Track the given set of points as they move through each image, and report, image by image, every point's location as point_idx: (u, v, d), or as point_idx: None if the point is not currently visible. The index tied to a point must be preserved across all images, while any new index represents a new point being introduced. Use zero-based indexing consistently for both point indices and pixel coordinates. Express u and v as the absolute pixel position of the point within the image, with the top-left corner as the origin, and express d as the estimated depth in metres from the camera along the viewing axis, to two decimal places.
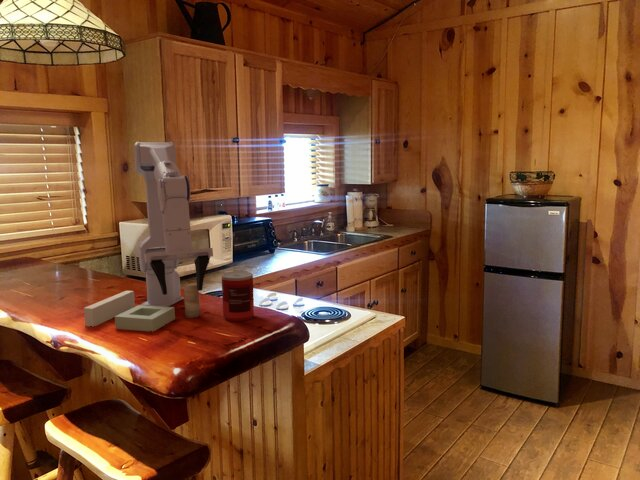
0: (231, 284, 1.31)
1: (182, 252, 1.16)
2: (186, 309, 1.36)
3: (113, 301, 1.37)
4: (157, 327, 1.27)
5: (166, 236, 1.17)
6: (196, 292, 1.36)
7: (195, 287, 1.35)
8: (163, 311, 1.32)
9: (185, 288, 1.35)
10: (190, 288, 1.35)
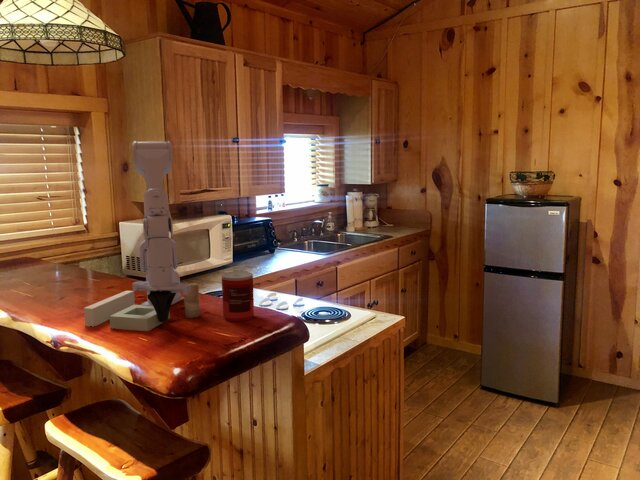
0: (231, 284, 1.31)
1: (152, 289, 1.25)
2: (186, 309, 1.36)
3: (113, 301, 1.37)
4: (152, 327, 1.28)
5: None
6: (196, 292, 1.36)
7: (195, 287, 1.35)
8: None
9: None
10: None
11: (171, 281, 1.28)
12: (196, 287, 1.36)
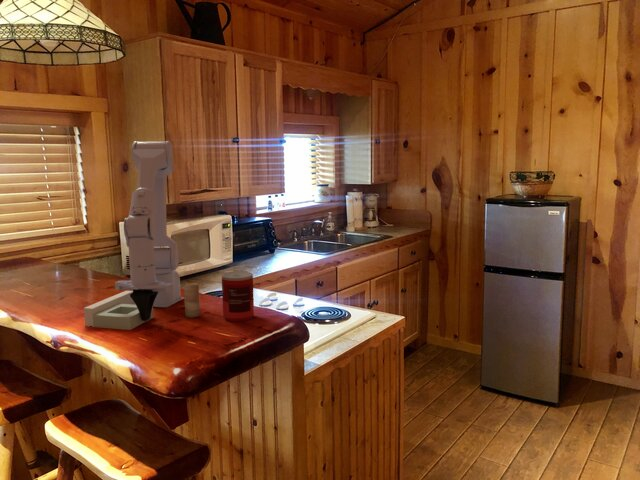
0: (231, 284, 1.31)
1: (133, 288, 1.26)
2: (186, 309, 1.36)
3: (113, 301, 1.37)
4: (134, 325, 1.29)
5: None
6: (196, 292, 1.36)
7: (195, 287, 1.36)
8: None
9: (185, 288, 1.35)
10: (190, 288, 1.35)
11: (153, 280, 1.29)
12: (196, 287, 1.36)
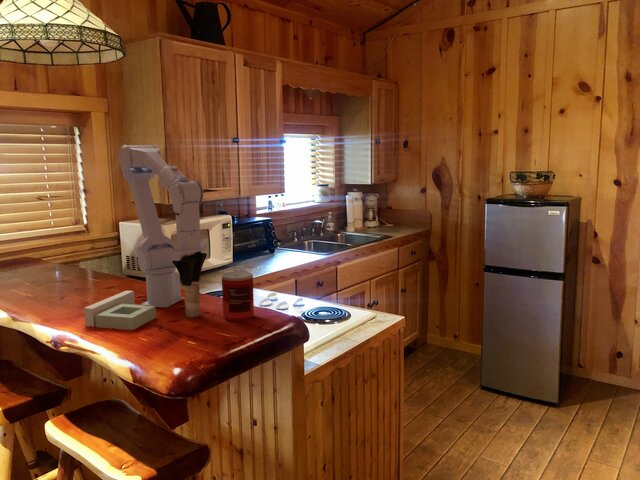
0: (231, 284, 1.31)
1: (203, 249, 1.34)
2: (187, 309, 1.36)
3: (113, 301, 1.37)
4: (137, 325, 1.29)
5: (187, 236, 1.32)
6: (197, 292, 1.36)
7: (196, 287, 1.35)
8: (144, 309, 1.33)
9: (186, 288, 1.35)
10: (191, 288, 1.35)
11: None
12: (197, 287, 1.36)
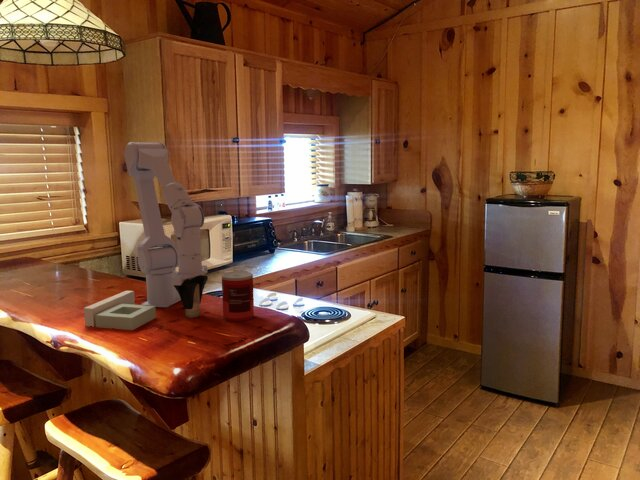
0: (231, 284, 1.31)
1: (205, 273, 1.35)
2: (187, 309, 1.36)
3: (113, 301, 1.37)
4: (137, 325, 1.29)
5: (188, 260, 1.33)
6: (197, 292, 1.36)
7: (196, 287, 1.35)
8: (144, 309, 1.33)
9: None
10: None
11: None
12: (197, 287, 1.36)
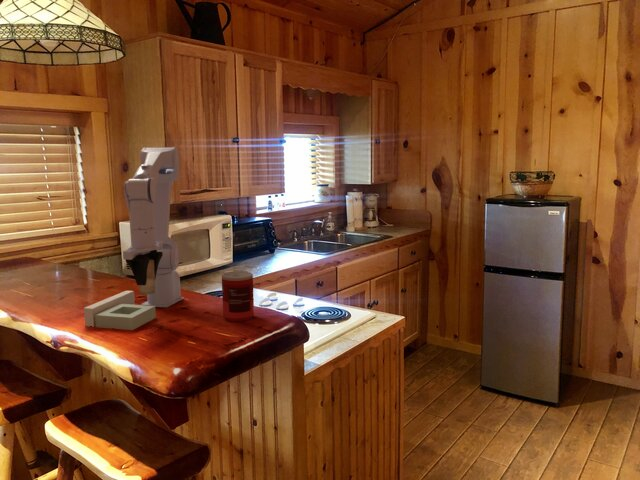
0: (231, 284, 1.31)
1: (158, 248, 1.31)
2: (141, 285, 1.32)
3: (113, 301, 1.37)
4: (137, 325, 1.29)
5: (141, 234, 1.28)
6: (152, 268, 1.32)
7: (151, 262, 1.31)
8: (144, 309, 1.33)
9: None
10: None
11: None
12: (152, 262, 1.32)
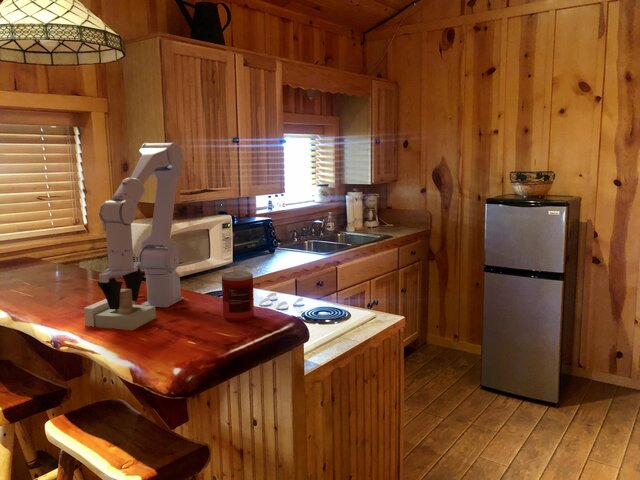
0: (231, 284, 1.31)
1: (136, 270, 1.30)
2: None
3: None
4: (137, 326, 1.29)
5: (117, 256, 1.28)
6: (130, 297, 1.31)
7: (128, 292, 1.31)
8: (144, 309, 1.33)
9: None
10: (123, 293, 1.30)
11: None
12: (130, 292, 1.31)
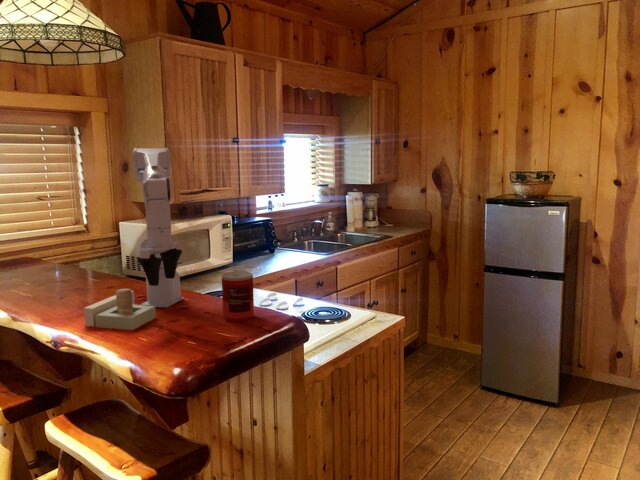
0: (231, 284, 1.31)
1: (174, 247, 1.32)
2: None
3: (113, 301, 1.37)
4: (137, 326, 1.29)
5: (157, 233, 1.30)
6: (129, 297, 1.31)
7: (128, 292, 1.31)
8: (144, 309, 1.33)
9: (117, 294, 1.30)
10: (123, 293, 1.30)
11: None
12: (129, 292, 1.31)
